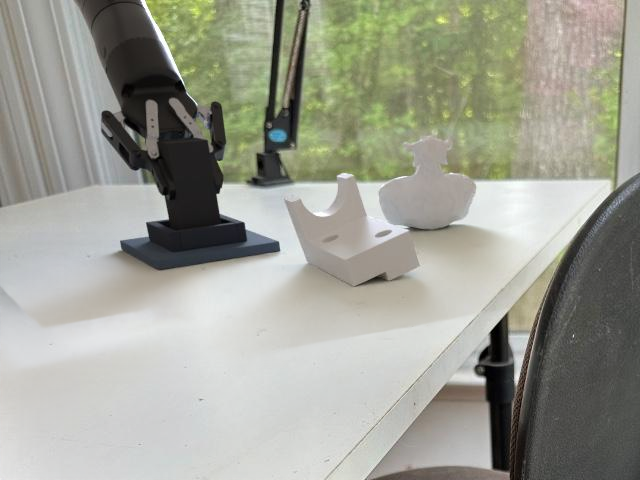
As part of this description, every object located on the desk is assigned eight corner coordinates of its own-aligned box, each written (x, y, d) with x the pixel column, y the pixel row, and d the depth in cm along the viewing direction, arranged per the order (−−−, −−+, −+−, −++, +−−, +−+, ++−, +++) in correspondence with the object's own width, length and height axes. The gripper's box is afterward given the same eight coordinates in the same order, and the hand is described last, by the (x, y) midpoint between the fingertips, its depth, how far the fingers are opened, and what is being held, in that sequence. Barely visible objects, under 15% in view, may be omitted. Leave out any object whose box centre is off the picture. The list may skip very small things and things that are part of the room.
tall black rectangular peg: (170, 228, 102) (153, 140, 97) (208, 223, 104) (193, 137, 99) (183, 234, 99) (166, 143, 94) (222, 229, 101) (207, 140, 96)
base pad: (121, 249, 105) (115, 222, 103) (234, 233, 111) (230, 206, 109) (158, 270, 95) (152, 240, 93) (280, 250, 101) (276, 222, 99)
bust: (383, 250, 110) (386, 178, 99) (373, 201, 112) (375, 126, 101) (478, 242, 111) (491, 170, 101) (466, 194, 114) (478, 120, 103)
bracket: (310, 270, 96) (283, 198, 91) (367, 244, 98) (344, 172, 93) (357, 295, 86) (330, 216, 82) (420, 266, 88) (397, 187, 83)
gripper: (195, 85, 107) (250, 207, 105) (73, 93, 100) (128, 223, 98) (203, 31, 100) (261, 160, 98) (71, 37, 94) (131, 175, 92)
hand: (194, 191), depth 98 cm, fingers closed on tall black rectangular peg, 4 cm apart
